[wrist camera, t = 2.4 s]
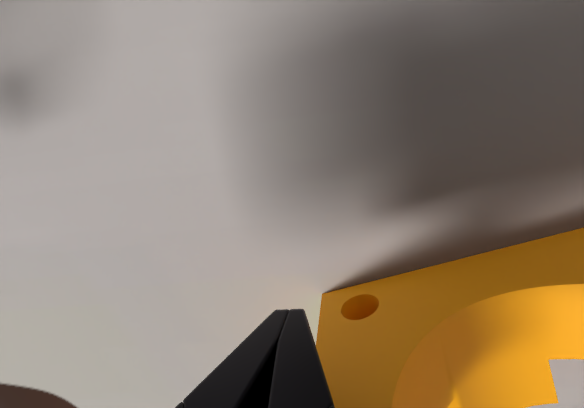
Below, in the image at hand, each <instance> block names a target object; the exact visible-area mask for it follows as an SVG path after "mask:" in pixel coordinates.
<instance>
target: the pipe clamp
mask: <svg viewBox="0 0 584 408" xmlns="http://www.w3.org/2000/svg"><path fill="white" fill-rule="evenodd" d="M316 349H317V352H318V355H319V358H320V361H321V365H322V368H323V371H324V374H325V377H326V380H327V384H328V387H329V390H330V393H331V396H332V399H333V403H334V407H335V408H526V407H530V406H535V405H542V404H551V403H558V399H557V395H556V391H555V387H554V382H553V378H552V374H551V369H550V365H549V361H548V360H549V359H584V228H580V229H576V230H572V231H568V232H564V233H560V234H556V235H552V236H548V237H544V238H540V239H536V240H533V241H529V242H525V243H521V244H517V245H513V246H509V247H505V248H501V249H497V250H493V251H489V252H485V253H481V254H477V255H473V256H469V257H466V258H462V259H458V260H454V261H450V262H446V263H442V264H438V265H434V266H430V267H426V268H422V269H418V270H414V271H410V272H406V273H402V274H398V275H395V276H391V277H387V278H383V279H379V280H375V281H371V282H367V283H363V284H359V285H355V286H351V287H347V288H343V289H339V290H335V291H331V292H328V293H324V294H322V300H321V308H320V316H319V325H318V333H317V341H316Z"/></svg>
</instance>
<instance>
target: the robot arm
mask: <svg viewBox="0 0 584 408" xmlns="http://www.w3.org/2000/svg"><path fill="white" fill-rule="evenodd" d="M175 408H335V407H334V403H333V399H332V396H331V393H330V390H329V387H328V384H327V380H326V377H325V374H324V371H323V368H322V365H321V361H320V358H319V355H318V352H317V349H316V346H315V342H314V339H313V336H312V333H311V330H310V327H309V323H308V320H307V317H306V314H305V311H304V310H303V309H291V310H287V309H286V310H275V311H274V312H273V313H272V314H271V315H269V316H268V317H267V318H266V319H265V320H264V321H263V322H262V323H261V324H260V325H259V326H258V327H257V328H256V329H255V330H254V331H253V332H252V333H251V334H250V335H249V336H248V337H247V338H246V339H245V340H244V341H243V342H242V343H241V344H240V345H239V346H238V347H237V348H236V349H235V350H234V351H233V352H232V353H231V354H230V355H229V356H228V357H227V358H226V359H225V360H224V361H223V362H222V363H221V364H219V365H218V366H217V367H216V368H215V369H214V370H213V371H212V372H211V373H210V374H209V375H208V376H207V377H206V378H205V379H204V380H203V381H202V382H201V383H200V384H199V385H198V386H197V387H196V388H195V389H194V390H193V391H192V392H191V393H190V394H189V395H188V396H187V397H186V398H185V399H184V400H183V402H181V403H180V404H179V405H177V406H176V407H175Z"/></svg>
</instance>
